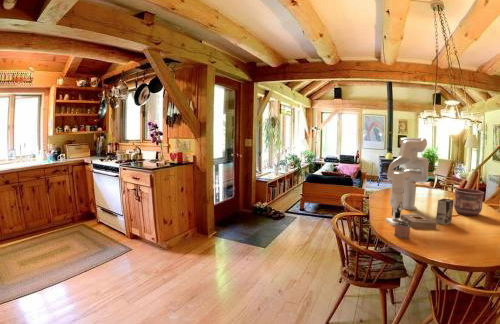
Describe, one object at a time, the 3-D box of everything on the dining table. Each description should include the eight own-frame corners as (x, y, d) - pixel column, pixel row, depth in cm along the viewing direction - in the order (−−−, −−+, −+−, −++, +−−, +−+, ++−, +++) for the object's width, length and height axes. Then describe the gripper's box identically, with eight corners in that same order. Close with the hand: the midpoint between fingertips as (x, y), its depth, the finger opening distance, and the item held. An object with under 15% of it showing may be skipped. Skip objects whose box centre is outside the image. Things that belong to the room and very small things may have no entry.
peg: (391, 219, 188) (392, 205, 186) (397, 219, 187) (398, 205, 186) (393, 221, 184) (394, 207, 182) (399, 221, 183) (401, 207, 182)
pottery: (487, 218, 197) (490, 193, 195) (460, 216, 201) (462, 192, 199) (473, 211, 215) (475, 188, 213) (448, 209, 218) (450, 187, 216)
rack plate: (400, 219, 193) (400, 213, 193) (422, 220, 192) (422, 214, 191) (412, 227, 177) (412, 221, 177) (436, 228, 176) (436, 222, 176)
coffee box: (446, 225, 182) (448, 202, 180) (435, 222, 187) (437, 199, 185) (451, 222, 187) (454, 200, 185) (441, 220, 192) (443, 198, 190)
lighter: (410, 238, 161) (411, 221, 159) (408, 239, 158) (409, 223, 157) (395, 234, 166) (396, 218, 165) (393, 235, 164) (394, 219, 163)
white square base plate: (385, 220, 191) (385, 217, 191) (398, 221, 190) (398, 218, 190) (391, 225, 181) (392, 222, 181) (405, 226, 180) (406, 223, 180)
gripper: (386, 187, 191) (384, 212, 194) (397, 193, 175) (395, 220, 177) (397, 187, 191) (395, 213, 193) (409, 193, 174) (407, 221, 177)
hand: (395, 216), depth 185 cm, fingers closed on peg, 4 cm apart
